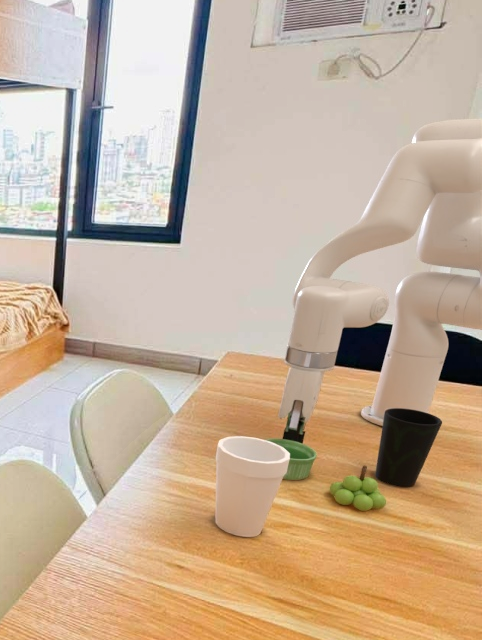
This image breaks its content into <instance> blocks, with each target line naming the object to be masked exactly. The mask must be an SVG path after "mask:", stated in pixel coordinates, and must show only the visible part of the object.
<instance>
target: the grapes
mask: <svg viewBox="0 0 482 640" xmlns="http://www.w3.org/2000/svg"><path fill="white" fill-rule="evenodd" d="M367 471H368V466H367V465H366V464H365V465H362V467H361V471H360V474H359V476H357V475H353V474H352V475H347V476H345V477H344V478H343V480H342V481H335V482H333V483H331V485H330V486H329V492H330V494H331V495H332V496H333V497H334V500H335V501H336V503H338V504H339V505H342V506H349V505H351V504H352V505H353V506H354V508H355V509H356V510H358V511H361V512H367V511H370V510H371V509H374V510H381V509H383V508H385V507H386V504H387V498H386V497H385V495H383V494H382V493H381V492H380V490H379V483H378V481H377V480H376V478H375V479H374V478H373V477H369V476H366V474H367Z"/></svg>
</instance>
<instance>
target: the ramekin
mask: <svg viewBox="0 0 482 640" xmlns="http://www.w3.org/2000/svg"><path fill="white" fill-rule="evenodd" d="M264 440H266V441H270V442H273V443H275V444H277V445H279V446H282V447H283V448H285V449H286V450H287V451H288V452H289V453H290V460H289V464H288V469H287V473H286V474H285V475H284V476H283V479H282V480H287V481H299V480H300V481H301V480H304V479H306V478H308V477H309V475H310V473H311V470H312V468H313V464H314V461H315V460H316V459H317V456H318V453H317V451H316V450H315V449H314V448H312V447H311V446H309V445H307V444H304V443H303V444H302V443H299V442H296V441H291V440H286V439H283V438H266V439H264Z"/></svg>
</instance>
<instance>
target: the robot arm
mask: <svg viewBox="0 0 482 640" xmlns="http://www.w3.org/2000/svg"><path fill="white" fill-rule="evenodd" d="M420 225H421V227H420ZM419 227H420V230H419V234H418V238H417V242H416V243H417V244H416V257H417V259H418V260H419V261H420V262H422V263H424V264H427V265H432V266H437V267H443V268H444V267H445V268H454V269H460V270H461V269H463V270H472V271H477V272H479V276H472V275H471V276H470V275H462V274H459V273H448V272H438V271H419V272H414V273H411V274H409V275H407V276H405V277H404V278H402V280H401V281H400V282H399V283H398V285H397V287H396V290H395V295H394V308H393V322H392V327H391V332H390V336H389V340H388V344H387V347H386V352H385V355H384V359H383V363H382V367H381V369H380V374H379V376H378V377H379V378H378V381H377V384H376V389H375V393H374V396H373V400H372V404H371V405H368V406H364V407H362V408H361V412H360V416H361V417H362V418H363V419H365V420H366V421H367V422H370V423H372V424H374V425H378V426H381V427H383V420H384V414H385V411H386V410H388V409H392V408H403V409H412V410H417V411H422V412H425V413H429V414H430V409H431V407H432V404H433V403H432V402H433V400H434V396H435V393H436V390H437V386H438V383H439V380H440V376H441V372H442V370H443V366H444V363H445V360H446V357H447V353H448V350H449V338H448V334H447V332H446V330H445V328H444V326H443V325H449V326H455V327H461V328H466V329H467V328H468V329H473V330H482V118H481V117H480V118H458V119H457V118H455V119H446V120H439V121H434V122H430V123H426V124H425V125H422V126H421V127H419V128H418V129H417V130H416V131H415V133H414V134H413V137H412V140H411V142H410V143H408V144H405V145H404V146H402V147H400V148H399V149H398V150H397V151H396V152H395V153H394V155H393V156H392V158H390V161H389V163H388V165H387V167H386V168H385V171H384V173H383V174H382V176H381V178H380V179H379V182H378V183H377V186H376V188H375V190H374V192H373V194H372V195H371V197H370V199H369V201H368V204H367V205H366V207H365V209H364V210H363V213H362V215H361V216H360V218H359V220H358V221H357V222H356V223H355V224H353V225H351V226H349V227H348V228H346V229H345V230H343V231H342V232H339V233H338V234H336V235H335V236H333V237H332V238H331V239H330V240H329V241H327V242H326V243H325V244H324V245H322V246H321V247H320V248H319V249H318V250H317V251H316V252H315V253H314V254H313V255H312V257H310V259H309V261H308V262H307V264H306V266H305V268H304V270H303V272H302V274H301V275H300V277H299V279H298V282H297V284H296V286H295V289H294V291H293V295H292V307H293V316H292V321H291V326H290V330H289V332H290V333H289V335H288V341H287V346H286V352H285V355H284V362H283V363H284V364H285V365H286V366H288V367H289V368H288V371H287V375H286V379H285V383H284V388H283V391H282V392H283V393H282V397H281V400H280V401H281V402H280V406H279V409H278V413H277V418H278V419H280V420H282V419H286V418H287V420H286V425H285V428H284V430H283V433H282V439H286V440H291V441H296V442H299V443H302V444H304V440H305V434H306V431H305V429H306V425H307V423H309V422H310V420H311V418H312V416H313V413H314V411H315V408H316V406H317V403H318V400H319V397H320V393H321V389H322V386H323V385H322V384H323V382H324V381H323V380H324V376H325V372H329V371H332V370H334V369H335V364H336V361H337V356H338V351H339V347H340V343H341V338H342V334H343V329H344V328H366V327H369V326H372V325H375V324H376V323H377V322H380V320H381V319H383V317H384V316H385V315H386V313H387V312H388V309H389V306H390V299H389V296H388V293H386V291H385V290H384V289H383V288H381V287H379V286H377V285H374V284H370V283H363V282H356V281H350V280H344V279H337V278H331V277H332V276H333V274H334V273H335V271H337V269H339V268H340V267H341V265H343V264H345V263H346V262H347V261H349V260H351V259H353V258H355V257H358V256H359V255H363V254H366V253H369V252H371V251H375V250H379V249H383V248H386V247H387V248H388V247H390V246H395V245H398V244H401V243H404V242H406V241H408V240H410V239H411V238H413V237H414V236H415V234H416V233H417V231H418V228H419Z"/></svg>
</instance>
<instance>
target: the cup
mask: <svg viewBox="0 0 482 640" xmlns="http://www.w3.org/2000/svg"><path fill="white" fill-rule="evenodd" d="M442 424H443V421H442V420H441V418H439V417H438V416H436V415H433V414H431V413H430V412H429V413H425V412H422V411H417V410H412V409H403V408H392V409H388V410H386V411H385V414H384V420H383V426H381V427H382V428H381V434H380V441H379V447H378V454H377V460H376V466H375V473H374V477H375V479H377V480H378V481H380V482H381V483H384V484H387V485H388V486H389V485H390V486H394V487H399V488H412V487H415V485H416V482H417V480H418V478H419V476H420V474H421V471H422V469H423V467H424V465H425V463H426V460H427V458H428V455H429V453H430V451H431V449H432V448H433V447H432V446H433V445H434V442H435V440H436V438H437V436H438V434H439V431H440V429H441V426H442Z"/></svg>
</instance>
